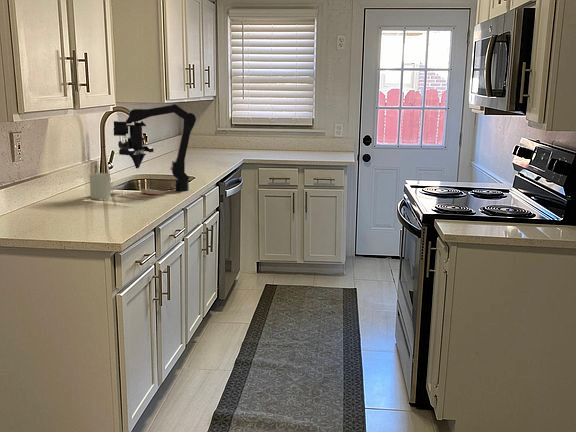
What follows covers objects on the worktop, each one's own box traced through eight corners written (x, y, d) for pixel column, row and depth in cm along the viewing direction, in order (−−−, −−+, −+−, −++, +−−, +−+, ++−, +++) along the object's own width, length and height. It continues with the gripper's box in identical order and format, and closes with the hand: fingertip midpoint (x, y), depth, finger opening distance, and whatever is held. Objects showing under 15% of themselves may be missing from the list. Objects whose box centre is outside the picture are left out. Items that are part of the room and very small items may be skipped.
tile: (140, 192, 275) (152, 193, 284) (154, 194, 272) (166, 194, 280) (141, 189, 275) (153, 189, 284) (154, 190, 272) (166, 191, 280)
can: (86, 199, 266) (84, 173, 264) (103, 196, 273) (102, 171, 271) (98, 201, 261) (96, 175, 258) (115, 199, 268) (114, 173, 265)
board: (136, 194, 280) (136, 192, 280) (166, 197, 273) (166, 195, 272) (114, 199, 267) (114, 196, 267) (146, 203, 259) (146, 200, 259)
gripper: (135, 133, 287) (136, 165, 290) (109, 136, 271) (110, 169, 274) (153, 134, 282) (154, 166, 286) (128, 137, 266) (129, 171, 269)
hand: (137, 168), depth 279 cm, fingers closed
